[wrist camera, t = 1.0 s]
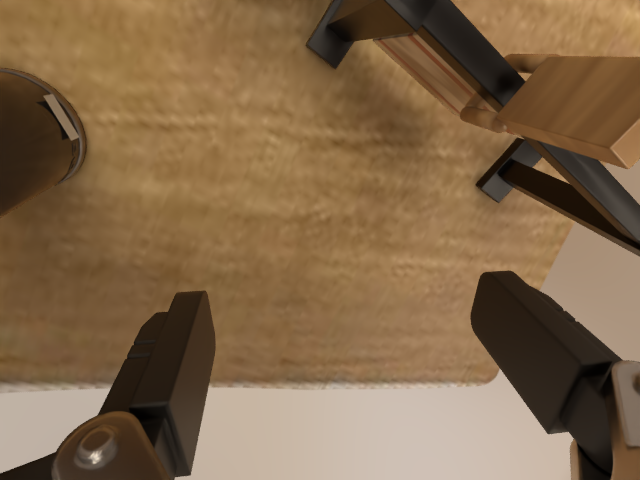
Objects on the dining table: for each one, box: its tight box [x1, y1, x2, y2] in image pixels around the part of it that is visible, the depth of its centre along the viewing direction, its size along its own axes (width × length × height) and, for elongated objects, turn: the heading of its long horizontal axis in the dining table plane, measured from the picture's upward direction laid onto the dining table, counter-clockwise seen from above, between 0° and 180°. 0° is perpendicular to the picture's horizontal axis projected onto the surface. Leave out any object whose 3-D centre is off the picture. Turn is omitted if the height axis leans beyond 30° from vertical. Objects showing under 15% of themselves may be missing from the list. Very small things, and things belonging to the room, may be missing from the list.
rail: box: [306, 0, 640, 256], centre depth 25 cm, size 25×6×17 cm, turn 54°
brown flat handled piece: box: [373, 32, 640, 169], centre depth 19 cm, size 9×4×19 cm, turn 54°
